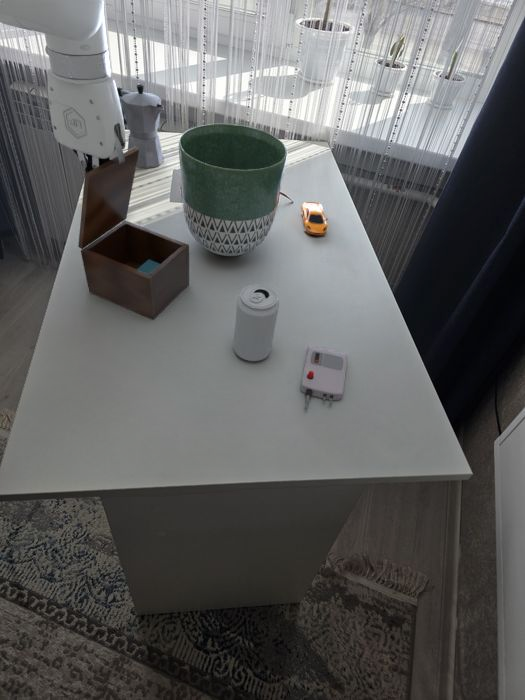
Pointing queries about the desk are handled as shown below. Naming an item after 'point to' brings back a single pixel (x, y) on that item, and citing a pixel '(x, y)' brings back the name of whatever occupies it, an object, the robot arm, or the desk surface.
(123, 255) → the chest
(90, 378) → the desk surface
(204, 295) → the desk surface
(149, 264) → the block
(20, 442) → the desk surface
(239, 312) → the beverage can
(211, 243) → the planter
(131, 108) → the coffeepot
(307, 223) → the toy car
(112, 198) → the lid
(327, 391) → the white electronic control box
